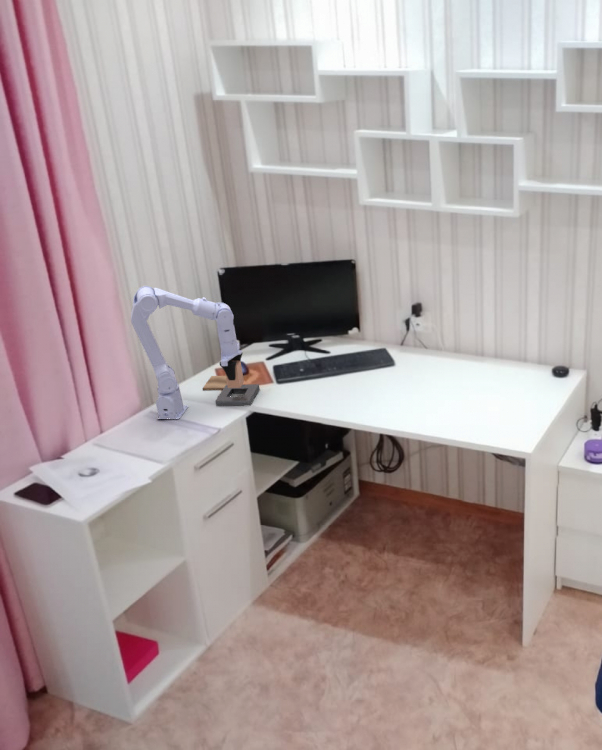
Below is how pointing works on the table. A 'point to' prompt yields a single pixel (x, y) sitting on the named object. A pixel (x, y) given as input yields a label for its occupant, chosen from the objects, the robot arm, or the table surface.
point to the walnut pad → (215, 383)
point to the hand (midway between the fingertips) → (234, 376)
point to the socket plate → (248, 397)
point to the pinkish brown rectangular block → (238, 379)
